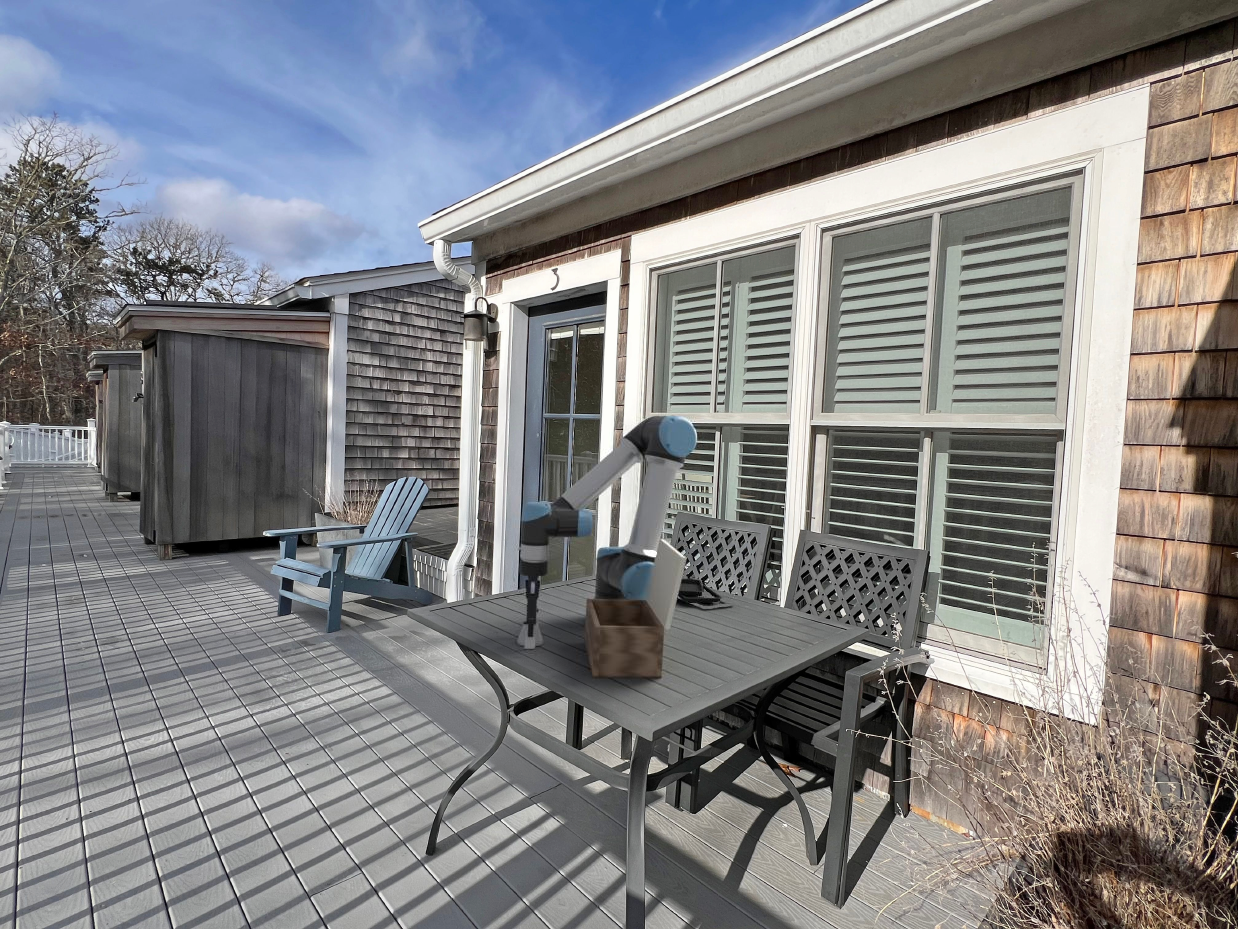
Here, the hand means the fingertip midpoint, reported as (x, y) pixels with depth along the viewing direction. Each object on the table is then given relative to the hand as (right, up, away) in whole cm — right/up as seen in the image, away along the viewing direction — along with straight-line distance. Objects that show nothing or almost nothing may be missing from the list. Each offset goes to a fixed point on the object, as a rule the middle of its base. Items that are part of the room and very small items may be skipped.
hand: (529, 642), depth 176 cm
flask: (0, -1, 0) cm, 1 cm away
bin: (+24, -2, -9) cm, 26 cm away
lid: (+35, +18, -8) cm, 41 cm away
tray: (+50, -1, +57) cm, 76 cm away
